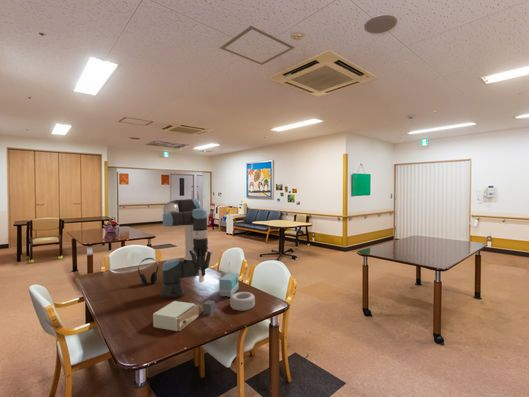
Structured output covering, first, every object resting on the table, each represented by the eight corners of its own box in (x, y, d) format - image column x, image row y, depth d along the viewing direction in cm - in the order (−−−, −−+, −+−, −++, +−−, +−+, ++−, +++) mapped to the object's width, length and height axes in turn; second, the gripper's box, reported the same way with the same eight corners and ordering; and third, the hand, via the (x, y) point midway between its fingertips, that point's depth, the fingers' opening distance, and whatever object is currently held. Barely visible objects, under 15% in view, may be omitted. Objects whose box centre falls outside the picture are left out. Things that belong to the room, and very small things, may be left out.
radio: (232, 298, 189) (231, 268, 188) (219, 297, 191) (218, 267, 190) (240, 289, 204) (239, 261, 203) (228, 288, 206) (227, 261, 206)
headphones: (137, 284, 220) (136, 258, 219) (157, 280, 228) (156, 255, 227) (139, 287, 212) (138, 260, 212) (160, 283, 221) (159, 257, 220)
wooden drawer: (155, 326, 151) (155, 314, 151) (176, 312, 168) (176, 301, 168) (181, 331, 146) (181, 318, 146) (200, 316, 163) (200, 304, 162)
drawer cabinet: (153, 326, 152) (153, 313, 151) (174, 312, 168) (174, 300, 168) (177, 331, 147) (177, 317, 146) (196, 316, 164) (196, 303, 163)
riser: (203, 313, 166) (202, 303, 166) (207, 310, 171) (207, 300, 171) (210, 314, 165) (210, 304, 164) (215, 311, 169) (214, 301, 169)
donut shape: (234, 313, 166) (234, 302, 166) (227, 304, 180) (227, 293, 180) (258, 308, 172) (258, 297, 172) (249, 299, 186) (249, 289, 186)
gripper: (185, 238, 152) (187, 282, 153) (207, 239, 148) (208, 285, 149) (193, 236, 159) (195, 278, 160) (214, 237, 155) (215, 280, 156)
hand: (201, 281), depth 155 cm, fingers closed
